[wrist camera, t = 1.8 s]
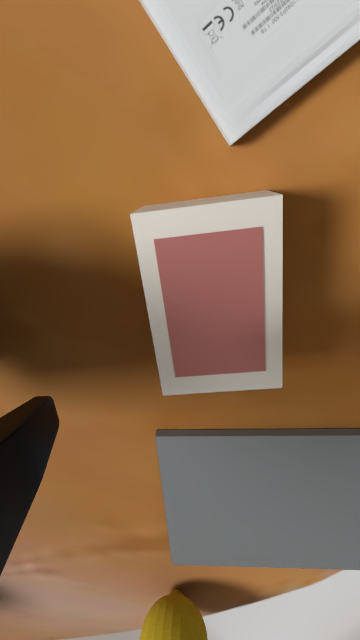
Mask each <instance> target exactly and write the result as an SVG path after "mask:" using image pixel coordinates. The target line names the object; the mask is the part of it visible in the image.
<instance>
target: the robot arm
mask: <svg viewBox="0 0 360 640" xmlns="http://www.w3.org/2000/svg"><path fill="white" fill-rule="evenodd" d="M58 428H59V418H58V415H57V411H56V408H55V404H54V401H53V399H52V397H50V396H37V397H34V398H32V399H31V400H29V401H27V402H26V403H24V404H22V405H21V406H19V407H18V408H16V409H14V410H13V411H11V412H9V413H8V414H6V415H4V416H3V417H1V418H0V575H1V573H2V571H3V568H4V566H5V564H6V562H7V559H8V557H9V555H10V552H11V550H12V548H13V546H14V543H15V541H16V539H17V536H18V534H19V532H20V529H21V527H22V525H23V523H24V520H25V518H26V516H27V513H28V511H29V509H30V507H31V504H32V502H33V500H34V497H35V495H36V493H37V491H38V488H39V486H40V483H41V481H42V478H43V475H44V472H45V469H46V466H47V463H48V460H49V456H50V453H51V450H52V447H53V444H54V441H55V438H56V434H57V431H58Z"/></svg>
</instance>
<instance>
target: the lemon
mask: <svg viewBox="0 0 360 640" xmlns="http://www.w3.org/2000/svg"><path fill="white" fill-rule="evenodd" d="M140 640H207V633H206V627H205V624H204V621H203V618H202V615H201V613H200V611H199V609H198V608H197V607H196V605H195V604H194V603H193V602H192V601H191V600H190V599H188V598H187V597H185V596H184V595H183V594H182V593H181V591H180V590H178V589H175V590H173V591H172V592H171V593H170V595H166V596H164V597H162V598H160V599H159V600H158V601H157V602H156V603H155V604H154V605H153V606H152V608H151V609H150V611H149V612H148V614H147V616H146V618H145V621H144V624H143V627H142V631H141V637H140Z"/></svg>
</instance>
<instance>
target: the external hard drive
mask: <svg viewBox="0 0 360 640" xmlns="http://www.w3.org/2000/svg"><path fill="white" fill-rule="evenodd" d="M139 1H140V3H141V5H142V6H143V8H144V9H145V11H146V13H147V14H148V16H149V17H150V19H151V21H152V22H153V24H154V25H155V27H156V29H157V30H158V32H159V33H160V35H161V37H162V38H163V40H164V42H165V43H166V45H167V46H168V48H169V50H170V51H171V53H172V54H173V56H174V58H175V59H176V61H177V63H178V64H179V66H180V67H181V69H182V71H183V72H184V74H185V75H186V77H187V79H188V80H189V82H190V83H191V85H192V87H193V88H194V90H195V91H196V93H197V95H198V96H199V98H200V99H201V101H202V103H203V104H204V106H205V108H206V109H207V111H208V112H209V114H210V115H211V117H212V119H213V120H214V122H215V123H216V125H217V127H218V128H219V130H220V132H221V133H222V135H223V136H224V138H225V140H226V141H227V143H228V145H229V146H231V145H232V144H233V143H234V142H236V141H237V140H238V139H239V138H241V137H242V136H243V135H244V134H245V133H247V132H248V131H249V130H250V129H251V128H253V127H254V126H255V125H256V124H258V123H259V122H260V121H261V120H262V119H264V118H265V117H266V116H267V115H269V114H270V113H271V112H272V111H273V110H274V109H276V108H277V107H278V106H279V105H281V104H282V103H283V102H284V101H285V100H287V99H288V98H289V97H290V96H292V95H293V94H294V93H295V92H297V91H298V90H299V89H300V88H302V87H303V86H304V85H305V84H307V83H308V82H309V81H310V80H311V79H313V78H314V77H315V76H316V75H318V74H319V73H320V72H321V71H323V70H324V69H325V68H326V67H327V66H329V65H330V64H331V63H332V62H333V61H335V60H336V59H337V58H338V57H339V56H341V55H342V54H343V53H344V52H346V51H347V50H348V49H349V48H351V47H352V46H353V45H354V44H355V43H357V42H358V41H359V40H360V0H139Z"/></svg>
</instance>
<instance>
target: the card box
mask: <svg viewBox="0 0 360 640" xmlns="http://www.w3.org/2000/svg"><path fill="white" fill-rule="evenodd" d="M130 217H131V222H132V228H133V233H134V239H135V244H136V250H137V255H138V261H139V266H140V272H141V277H142V283H143V288H144V294H145V299H146V305H147V311H148V316H149V322H150V327H151V333H152V338H153V344H154V349H155V355H156V360H157V366H158V371H159V377H160V382H161V388H162V393H163V395H179V394H194V393H210V392H225V391H241V390H256V389H272V388H282V282H283V195H282V194H279V193H275V192H272V191H269V190H264V191H256V192H248V193H240V194H233V195H225V196H217V197H210V198H202V199H194V200H186V201H179V202H171V203H163V204H155V205H148V206H143V207H141V208H139V209H138V210H136V211H134V212H133V213H131V214H130Z"/></svg>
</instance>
